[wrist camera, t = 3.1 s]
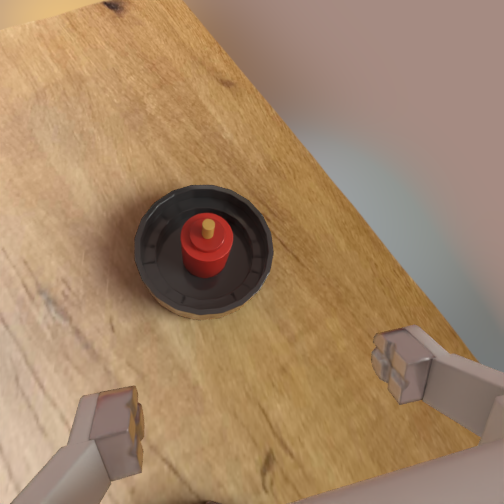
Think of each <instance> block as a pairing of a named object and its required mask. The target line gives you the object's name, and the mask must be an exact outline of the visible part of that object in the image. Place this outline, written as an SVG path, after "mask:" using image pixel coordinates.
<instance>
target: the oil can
mask: <svg viewBox="0 0 504 504" xmlns="http://www.w3.org/2000/svg"><path fill="white" fill-rule="evenodd" d="M232 243H233V232H232V229H231V227H230V225H229V224H228V223H227V222H226V221H225V220H224V219H223V218H222V217H220V216H218V215H216V214H212V213H201V214H197V215H195V216H193V217H191V218H190V219H189V220H187V222H186V223H185V224H184V226H183V228H182V231H181V248H182V259H183V263H184V266H185V268H186V269H187V270H188V271H189V272H190V273H191V274H192V275H194V276H196V277H200V278H210V277H213V276H216V275H217V274H219V273H220V272H221V271H222V270H223V268H224V267H225V264H226V262H227V259H228V256H229V253H230V250H231V247H232Z"/></svg>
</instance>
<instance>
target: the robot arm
mask: <svg viewBox="0 0 504 504" xmlns="http://www.w3.org/2000/svg"><path fill="white" fill-rule="evenodd" d="M373 343H374V344H375V346H376V348H375V349H374V350H373V351H372V354H371V362H372V366H373V369H374V371H375V373H376V375H377V376H378V377H379V379H381V380H382V381H384V382H386V383H388V390H389V392H390V393H391V394H392V396H393V397H394V398H395V400H396V401H397V402H398V403H399V405H401V404H406V403H410V402H414V401H419V400H423V402H425V403H427V404H428V405H430V406H431V407H433V408H435V409H436V410H438V411H439V412H441V413H443V414H444V415H446V416H448V417H449V418H451V419H452V420H454V421H456V422H457V423H459V424H460V425H462V426H464V427H465V428H467V429H468V430H470V431H472V432H473V433H475V434H476V435H478V436H480V437H481V439H480V441H479V444H478V446H475V447H472V448H469V449H466V450H462V451H459V452H456V453H452V454H449V455H446V456H442V457H439V458H436V459H433V460H429V461H426V462H423V463H419V464H416V465H413V466H410V467H406V468H403V469H400V470H396V471H393V472H390V473H387V474H383V475H380V476H377V477H373V478H370V479H367V480H364V481H360V482H357V483H354V484H350V485H347V486H344V487H341V488H337V489H334V490H331V491H327V492H324V493H321V494H317V495H314V496H311V497H308V498H304V499H301V500H298V501H294V502H291V503H288V504H504V373H503V372H500V371H497V370H495V369H492V368H490V367H487V366H484V365H482V364H479V363H477V362H474V361H472V360H469V359H467V358H464V357H461V356H459V355H456V354H449V353H448V352H447V351H446V350H445V349H443V348H442V347H441V346H440V345H439V344H438V343H437V342H436V341H435V340H433V339H432V338H431V337H430V336H429V335H428V334H427V333H426V332H425V331H423V330H422V329H421V328H420V327H419V326H417V325H411V326H407V327H402V328H398V329H394V330H389V331H385V332H380V333H376V334H375V336H374V339H373ZM143 437H144V415H143V409H142V406H141V404H140V403H138V392H137V389H136V386H129V387H124V388H119V389H113V390H108V391H103V392H100V393H94V394H89V395H84V396H82V398H81V399H80V400H79V404H78V408H77V411H76V415H75V418H74V422H73V425H72V429H71V432H70V436H69V440H68V443H67V446H64V447H61V448H60V449H59V450H58V451H57V452H56V454H55V455H54V456H53V457H52V458H51V459H50V460H49V461H48V462H47V464H46V465H45V466H44V467H43V468H42V469H41V470H40V471H39V472H38V473H37V475H36V476H35V477H34V478H33V479H32V480H31V481H30V482H29V483H28V485H27V486H26V487H25V488H24V489H23V490H22V491H21V492H20V493H19V495H18V496H17V497H16V498H15V499H14V500H13V501H12V502H11V503H10V504H99V503H100V502H101V500H102V498H103V497H104V495H105V493H106V492H107V490H108V488H109V486H110V485H111V481H115V480H118V479H122V478H125V477H128V476H132V475H135V474H139V473H142V462H143V448H142V445H141V440H142V439H143Z"/></svg>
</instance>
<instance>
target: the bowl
mask: <svg viewBox="0 0 504 504" xmlns="http://www.w3.org/2000/svg"><path fill="white" fill-rule="evenodd" d="M201 213H212V214H216V215H218V216H220V217H222V218H223V219H224V220H225V221H226V222H227V223H228V224H229V225H230V227H231V229H232V232H233V243H232V247H231V250H230V253H229V256H228V259H227V262H226V264H225V267H224V268H223V270H222V271H221V272H220V273H219V274H217V275H216V276H213V277H210V278H200V277H196V276H194V275H192V274H191V273H190V272H189V271H188V270H187V269H186V268H185V266H184V263H183V259H182V248H181V231H182V228H183V226H184V224H185V223H186V222H187V220H189V219H190V218H191V217H193V216H195V215H197V214H201ZM273 252H274V251H273V244H272V237H271V232H270V230H269V228H268V226H267V224H266V221H265V219H264V217H263V215H262V214H261V213H260V212H259V211H258V210H257V209H256V208H255V206H254V205H253V204H252V203H251V202H250V201H249V200H247V199H246V198H244V197H242V196H241V195H239V194H237V193H236V192H234V191H232V190H229V189H226V188H222V187H218V186H214V185H190V186H187V187H183V188H180V189H177V190H174V191H171V192H170V193H168V194H167V195H165V196H164V197H162V198H161V199H159V200H158V201H156V202H155V203H154V204H153V205H152V206H151V208H150V209H149V210H148V211H147V213H146V214H145V215H144V216H143V218H142V219H141V222H140V225H139V227H138V230H137V233H136V236H135V262H136V265H137V268H138V270H139V273H140V276H141V279H142V281H143V283H144V284H145V286H146V288H147V289H148V290H149V292H150V293H151V294H152V295H153V296H154V298H155V299H156V300H157V301H158V302H159V304H161V305H162V306H164V307H165V308H167V309H168V310H170V311H172V312H173V313H175V314H177V315H179V316H183V317H187V318H192V319H196V320H206V319H217V318H221V317H224V316H226V315H228V314H231V313H233V312H235V311H238V310H239V309H240V308H241V307H243V306H244V305H245V304H246V303H247V302H248V301H249V300H251V299H252V298H253V297H254V296H255V294H256V293H257V292H258V291H259V290H260V288H261V287H262V285H263V283H264V282H265V280H266V278H267V276H268V275H269V273H270V269H271V264H272V258H273Z"/></svg>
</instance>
